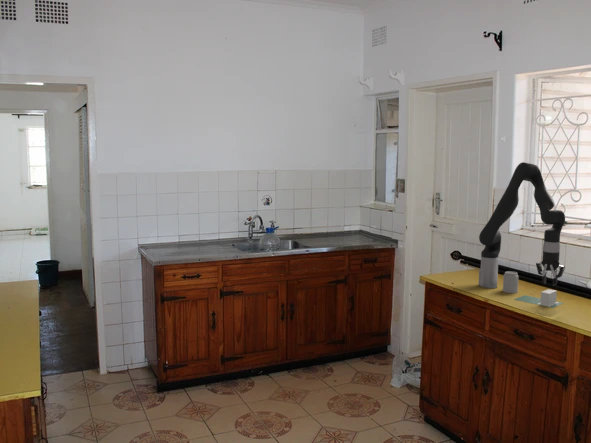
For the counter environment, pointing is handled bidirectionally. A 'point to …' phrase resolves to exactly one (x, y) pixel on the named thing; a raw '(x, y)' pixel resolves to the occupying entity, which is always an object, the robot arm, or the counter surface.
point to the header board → (535, 301)
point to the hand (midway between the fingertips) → (549, 284)
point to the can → (510, 282)
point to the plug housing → (548, 297)
